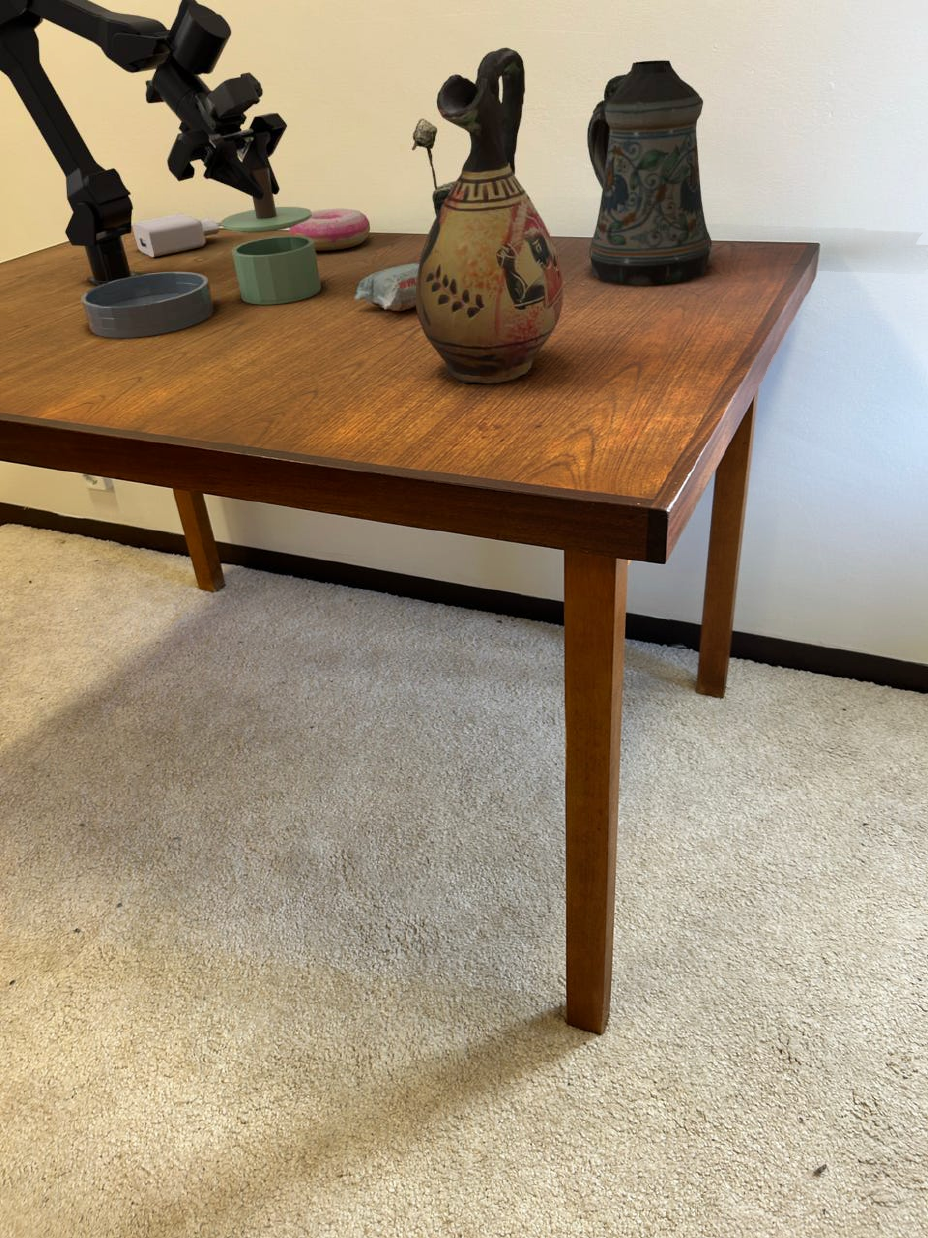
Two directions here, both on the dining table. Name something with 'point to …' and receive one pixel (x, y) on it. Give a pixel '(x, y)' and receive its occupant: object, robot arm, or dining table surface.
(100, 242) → the robot arm
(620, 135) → the beer stein
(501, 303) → the ceramic jug
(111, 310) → the pan
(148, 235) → the charger
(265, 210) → the lid
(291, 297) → the green cylinder
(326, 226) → the donut
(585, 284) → the dining table surface
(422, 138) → the plant with pod
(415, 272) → the packaged food
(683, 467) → the dining table surface
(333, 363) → the dining table surface
